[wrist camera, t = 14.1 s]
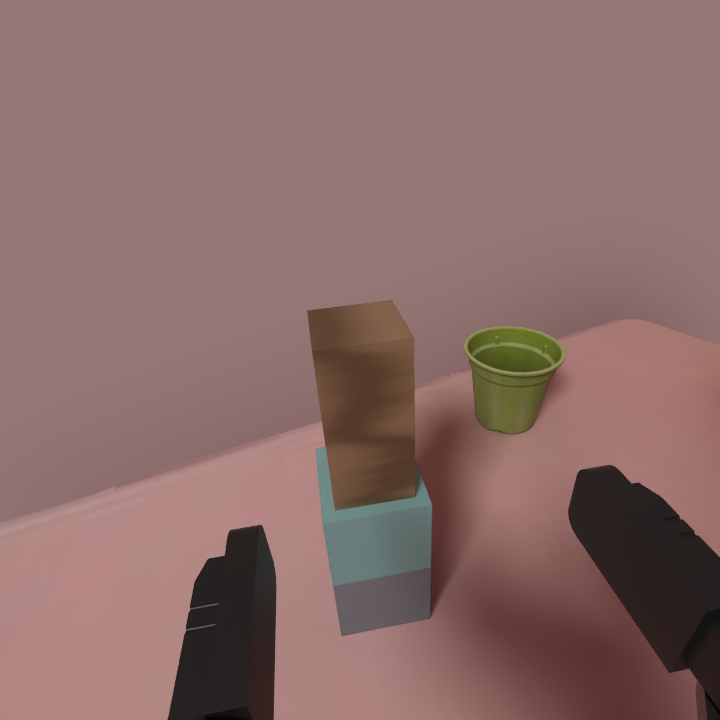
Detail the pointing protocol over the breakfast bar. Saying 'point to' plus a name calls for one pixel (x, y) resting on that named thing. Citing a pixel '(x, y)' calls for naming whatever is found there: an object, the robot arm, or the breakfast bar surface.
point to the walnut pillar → (366, 401)
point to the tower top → (375, 532)
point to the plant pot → (511, 375)
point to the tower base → (383, 601)
